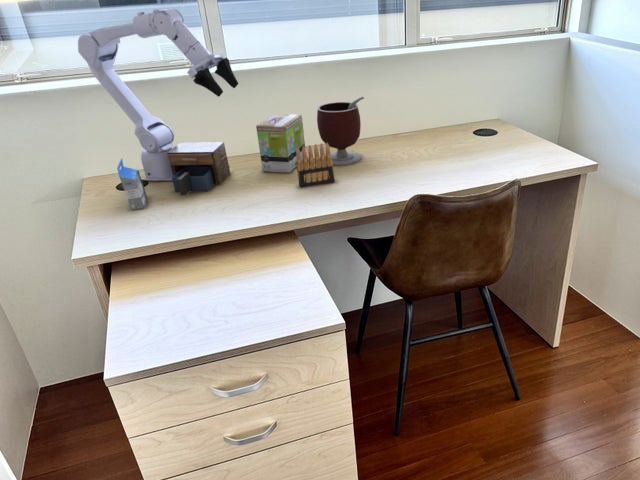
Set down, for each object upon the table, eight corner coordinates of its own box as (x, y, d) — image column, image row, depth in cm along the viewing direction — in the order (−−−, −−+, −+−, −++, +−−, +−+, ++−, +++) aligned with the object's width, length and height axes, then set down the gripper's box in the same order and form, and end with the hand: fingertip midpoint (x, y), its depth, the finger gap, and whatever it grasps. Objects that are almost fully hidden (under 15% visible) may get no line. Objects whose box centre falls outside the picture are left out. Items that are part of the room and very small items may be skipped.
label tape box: (145, 208, 156) (132, 165, 150) (129, 210, 155) (116, 167, 149) (147, 197, 163) (135, 156, 157) (133, 199, 162) (120, 157, 156)
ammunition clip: (333, 180, 170) (329, 141, 163) (335, 182, 168) (331, 142, 162) (298, 186, 167) (293, 146, 160) (300, 188, 165) (294, 148, 159)
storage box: (167, 199, 161) (161, 179, 158) (188, 179, 175) (183, 161, 172) (200, 199, 161) (195, 179, 157) (219, 179, 174) (215, 160, 171)
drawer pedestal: (218, 187, 168) (210, 153, 163) (173, 187, 169) (164, 154, 164) (230, 173, 178) (223, 141, 173) (188, 174, 179) (180, 142, 174)
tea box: (291, 173, 176) (284, 126, 169) (262, 172, 178) (254, 125, 170) (307, 157, 189) (302, 113, 181) (279, 157, 191) (273, 112, 183)
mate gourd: (318, 166, 181) (310, 102, 170) (325, 153, 193) (318, 92, 182) (365, 165, 180) (361, 101, 169) (369, 152, 192) (365, 91, 181)
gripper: (183, 46, 146) (220, 89, 149) (215, 33, 156) (250, 73, 160) (171, 63, 150) (208, 104, 154) (203, 49, 161) (237, 88, 164)
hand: (228, 90), depth 157 cm, fingers open, 7 cm apart
